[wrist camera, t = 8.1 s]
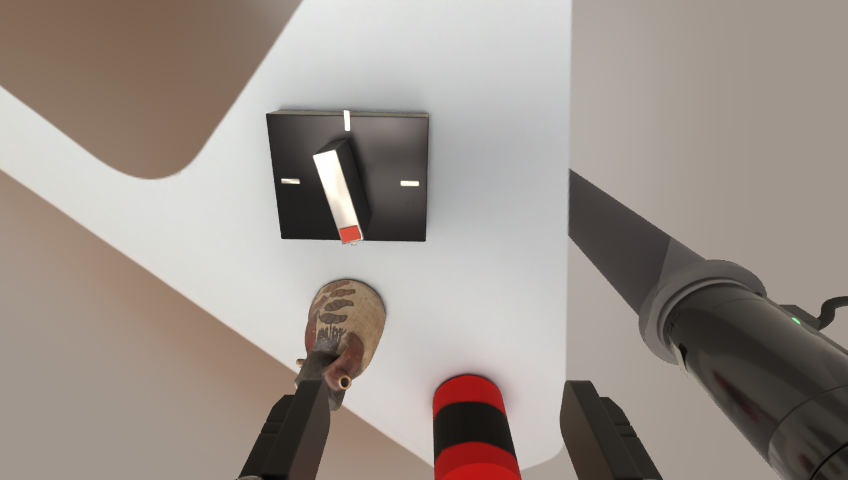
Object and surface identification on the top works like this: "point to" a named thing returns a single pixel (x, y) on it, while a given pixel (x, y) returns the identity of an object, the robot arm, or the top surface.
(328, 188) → the grey rectangular block
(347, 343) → the figurine
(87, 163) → the top surface
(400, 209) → the tap plate
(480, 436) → the soda can
